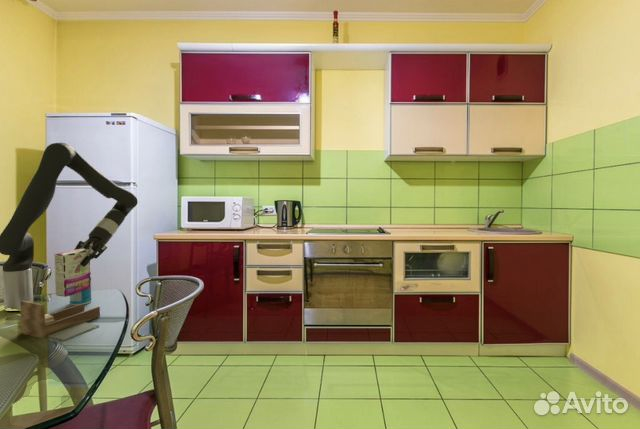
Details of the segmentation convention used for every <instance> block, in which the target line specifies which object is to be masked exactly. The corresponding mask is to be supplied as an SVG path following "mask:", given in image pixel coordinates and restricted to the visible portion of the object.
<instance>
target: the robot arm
mask: <svg viewBox="0 0 640 429" xmlns="http://www.w3.org/2000/svg"><path fill="white" fill-rule="evenodd" d="M65 167H67V168H69V169H71V170H72V171H74V172H75V173H76V174H78V175H79V176H80V177H81V178H82V179H83V180H84V181H85V182H86V183H87V184H88V185H89V186H90V187H91V188H93V189H94V190H95V191H97V193H99V194H100V195H102V196H103V197H105V198H106V199H113V200H115V201H116V202H115V203H114V205H113V206H112V208H111V209H110V210H109V211H108V212H107V213H106V214H105V215H104V217H103V218H102V219H101V220H99V221H98V223H97V224H96V225H95V227H93V229H92V230H91V231H90V232H89V233H88V239H86V240H85V241H82V240H80V241H78V243H77V244H76V246H75V248H74V249H73V250H77V249H87V250H88V254H87V256H86V257H85V258H84V259H83V260H82V262H81V263H80V265H81V266H83V267H85V266H86V265H87V264H88V263H89V261H90V262H91V260H93V259H98V258H99V257H100V256H101V255H102V254H103V253H104V252H105V251H106V250H107V249H108V246H106V245H107V244H108V243H109V241H110V240H111V238H113V236H114V235H115V234H116V232H117V231H118V229H119V228H120V227H121V225H122V223H123V222H124V221H125V220H126V217H127V216H128V215H129V214H130V213H131V211H132V210H134V209H135V208H136V206H137V205H138V203H139V202H138V198H137V196H135V194H134V193H133V192H132V191H131V192H130V191H129V190H127V189H125V188H123V187H120V186H119V185H118V184H116V183H114V182H113V181H112V180H111V179H110V178H108V177H107V176H105V175H104V174H102V173H101V172H99V170H97V169H96V168H94V167H93V165H92V164H90V163H88V161H86V160H85V159H84V157H82V155H80V154H79V153H78V152H77V151H76V149H74V147H72V146H71V145H70V144H68V143H64V142H55V143H50V144H48V145H47V146H46V148H45V150H44V151H43V154H42V158H41V160H40V162H39V165H38V168H37V170H36V172H35V174H34V175H33V177H32V178H31V180H30V182H29V184H28V185H27V188H26V189H25V191H24V193H23V195H22V196H21V198H20V200H19V203H18V204H17V207H16V208H15V211H14V213H13V214H12V216H11V218H10V220H9V222H8V223H7V225H6V226H5V228H4V229H3V230H2V232H1V233H0V254H2V255H3V256H8V258H7V259H6V261H5V262H3V264H2V280H3V287H2V290H3V291H2V292H3V294H2V295H3V309H4V308H5V309H7V308H11V309H21V305H20V301H22V300H25V301H30V302H34V290H33V289H34V288H33V287H34V285H33V271H32V270H33V266H32V265H33V262H34V260H35V259H34V258H35V257H34V256H35V251H34V250H35V242H34V238H33V236H32V235H31V233H29V232H28V231H29V230H30V228H31V226H32V225H33V224H34V223H35V222H36V221H37V220H38V219H39V218H40V217H41V216H43V214H44V213H45V212H46V211H47V209H48V208H49V206H50V204H51V203H52V200H53V198H54V195H55V193H56V187H57V182H58V179H59V177H60V174H62V172H63V170H64V168H65ZM5 309H4V310H5Z"/></svg>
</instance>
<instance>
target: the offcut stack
mask: <svg viewBox="0 0 640 429" xmlns="http://www.w3.org/2000/svg"><path fill="white" fill-rule="evenodd" d="M48 314H49V313H45V325H46V324H49V323H52V322H55V320H54V319H53V316H51V315H48Z"/></svg>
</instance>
